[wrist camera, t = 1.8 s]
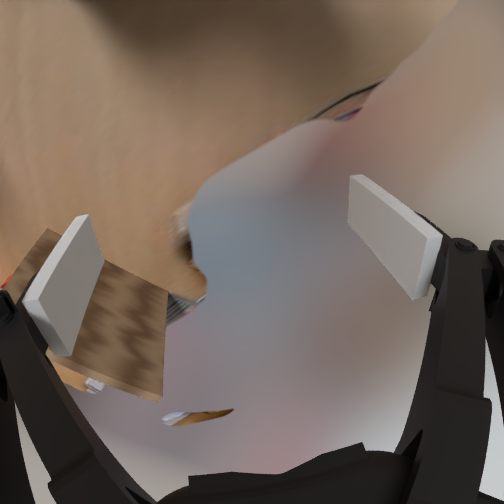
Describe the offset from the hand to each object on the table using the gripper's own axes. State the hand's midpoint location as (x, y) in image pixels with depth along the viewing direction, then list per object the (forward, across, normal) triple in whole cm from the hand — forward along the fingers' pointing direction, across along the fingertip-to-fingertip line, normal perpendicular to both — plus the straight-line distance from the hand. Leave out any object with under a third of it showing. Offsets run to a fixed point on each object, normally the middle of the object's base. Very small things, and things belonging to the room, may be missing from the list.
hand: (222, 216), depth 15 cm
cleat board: (+27, -22, -21) cm, 41 cm away
